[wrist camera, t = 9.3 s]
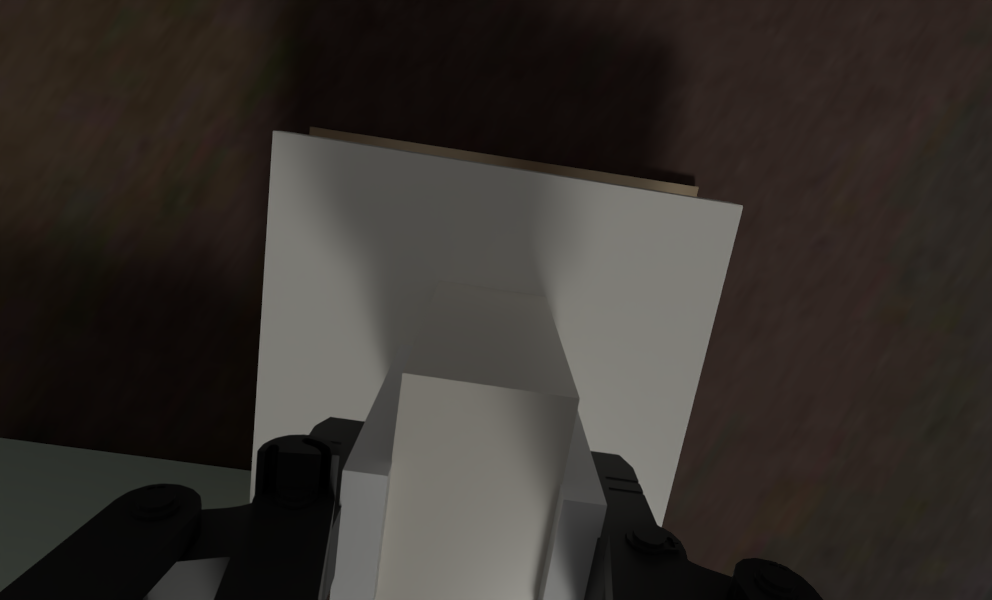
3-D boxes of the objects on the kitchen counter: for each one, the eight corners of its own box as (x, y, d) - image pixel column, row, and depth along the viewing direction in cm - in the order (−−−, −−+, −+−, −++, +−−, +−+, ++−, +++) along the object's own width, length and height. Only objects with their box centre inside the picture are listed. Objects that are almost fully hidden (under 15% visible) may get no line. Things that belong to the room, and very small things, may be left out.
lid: (274, 500, 21) (110, 769, 12) (302, 132, 18) (109, 122, 9) (627, 548, 22) (722, 839, 13) (711, 197, 19) (917, 250, 10)
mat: (286, 475, 23) (283, 479, 23) (312, 126, 20) (310, 126, 20) (619, 519, 24) (620, 523, 24) (695, 186, 21) (698, 187, 21)
